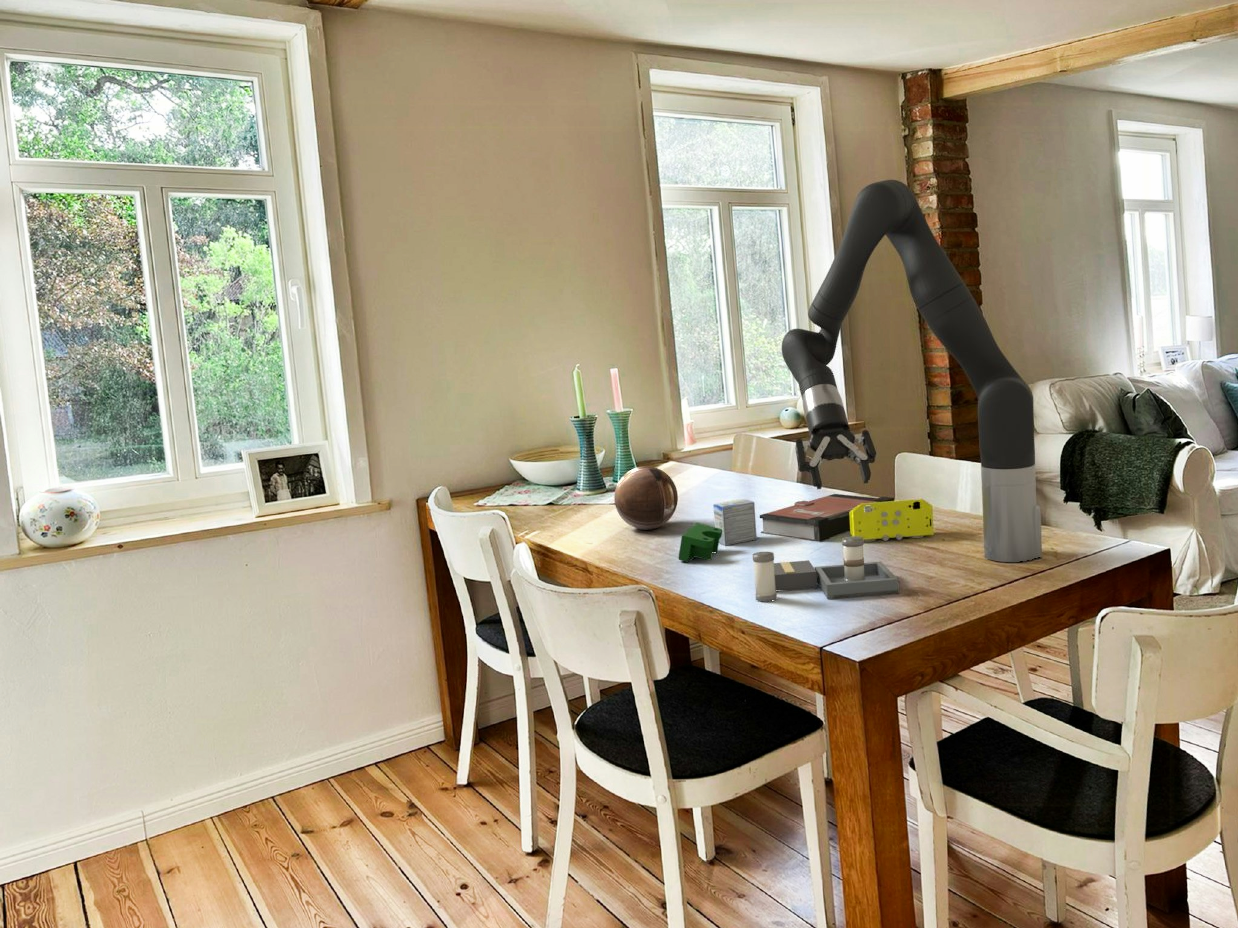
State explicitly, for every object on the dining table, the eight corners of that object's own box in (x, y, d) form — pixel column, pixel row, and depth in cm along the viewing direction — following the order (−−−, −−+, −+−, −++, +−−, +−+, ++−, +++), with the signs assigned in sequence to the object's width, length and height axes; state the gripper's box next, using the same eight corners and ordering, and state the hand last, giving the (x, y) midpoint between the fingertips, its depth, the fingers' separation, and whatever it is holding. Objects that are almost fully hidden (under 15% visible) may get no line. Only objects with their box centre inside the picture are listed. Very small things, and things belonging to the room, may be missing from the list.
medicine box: (747, 536, 217) (744, 498, 216) (757, 540, 213) (754, 501, 212) (715, 542, 215) (712, 503, 213) (725, 546, 210) (722, 506, 209)
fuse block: (809, 576, 182) (808, 559, 181) (817, 587, 174) (816, 570, 174) (760, 580, 182) (759, 563, 182) (766, 592, 174) (765, 574, 174)
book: (833, 512, 236) (832, 491, 236) (895, 519, 223) (893, 497, 222) (758, 534, 220) (756, 512, 220) (819, 544, 207) (818, 520, 206)
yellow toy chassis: (855, 544, 202) (852, 504, 201) (850, 538, 208) (848, 499, 207) (934, 538, 201) (932, 498, 200) (927, 532, 207) (925, 493, 206)
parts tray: (881, 574, 178) (880, 561, 178) (898, 593, 167) (898, 579, 166) (815, 580, 179) (814, 566, 179) (827, 599, 167) (826, 584, 167)
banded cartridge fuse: (862, 579, 174) (860, 535, 173) (867, 585, 171) (865, 540, 170) (842, 581, 175) (840, 537, 173) (846, 586, 171) (844, 541, 170)
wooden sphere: (607, 529, 238) (601, 468, 236) (662, 518, 244) (656, 459, 242) (634, 539, 225) (628, 474, 222) (691, 528, 231) (686, 465, 228)
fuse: (775, 595, 172) (772, 550, 171) (778, 601, 169) (775, 555, 167) (754, 596, 172) (751, 552, 171) (757, 602, 169) (753, 557, 167)
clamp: (705, 581, 201) (707, 547, 195) (677, 574, 202) (679, 540, 197) (722, 546, 210) (725, 512, 205) (695, 539, 212) (697, 506, 206)
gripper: (788, 406, 186) (805, 478, 177) (864, 396, 186) (884, 467, 177) (787, 429, 192) (803, 499, 183) (859, 420, 192) (879, 489, 183)
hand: (843, 484), depth 180 cm, fingers open, 8 cm apart
